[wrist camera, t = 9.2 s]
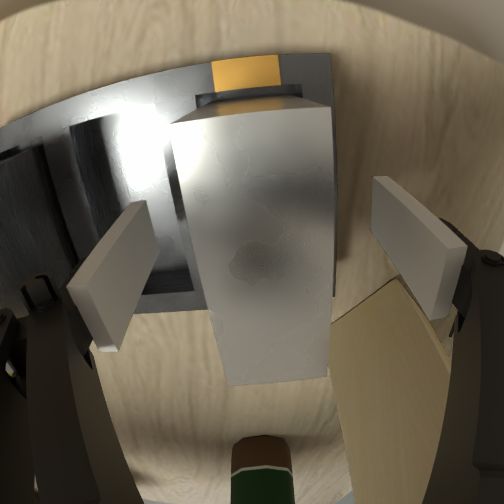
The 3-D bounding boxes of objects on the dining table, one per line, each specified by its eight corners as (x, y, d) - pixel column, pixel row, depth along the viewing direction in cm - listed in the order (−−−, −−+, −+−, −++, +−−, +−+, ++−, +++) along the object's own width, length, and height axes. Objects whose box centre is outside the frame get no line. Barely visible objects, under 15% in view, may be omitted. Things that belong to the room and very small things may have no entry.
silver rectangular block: (235, 258, 21) (228, 386, 12) (211, 101, 16) (168, 124, 7) (296, 252, 21) (326, 376, 12) (285, 93, 16) (330, 107, 7)
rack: (55, 290, 23) (-6, 387, 14) (1, 131, 16) (-111, 186, 7) (323, 266, 23) (366, 394, 13) (315, 58, 16) (399, 35, 6)
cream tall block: (361, 367, 29) (412, 570, 10) (317, 332, 26) (364, 591, 8) (428, 320, 26) (519, 523, 8) (395, 275, 23) (513, 537, 5)
